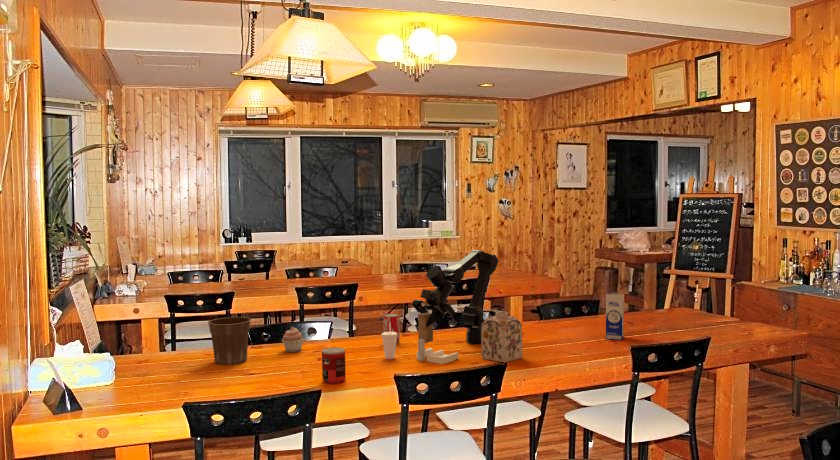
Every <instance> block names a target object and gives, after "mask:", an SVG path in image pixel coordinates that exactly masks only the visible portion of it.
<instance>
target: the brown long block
mask: <svg viewBox="0 0 840 460" xmlns="http://www.w3.org/2000/svg"><path fill="white" fill-rule="evenodd" d="M431 314H432V312H428V313H422V314H421V313H419V314H418V315H417V320H418V321H417V322H418V325H417V326H418V331H417V332H418V333H417V334H418V336H417V337H418V340H420V339H423V340H425V344H427V343H431V342H434V323H433V324H431V325H430V326H428V327H427V326H426V324H427V321H428V319H429V317H430V316H431Z"/></svg>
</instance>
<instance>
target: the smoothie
mask: <svg viewBox="0 0 840 460" xmlns="http://www.w3.org/2000/svg"><path fill="white" fill-rule="evenodd" d="M380 336H381V337H382V344H383V354H384V358H385V359H386V360H393V359H395V357H396V349H397V348H396V347H397V343H396V339H397V336H398V335H397V333H396V332H391V323H390V322H389V332H384V333H383V332H382V333H381V334H380Z"/></svg>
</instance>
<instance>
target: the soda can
mask: <svg viewBox="0 0 840 460" xmlns="http://www.w3.org/2000/svg"><path fill="white" fill-rule="evenodd" d="M382 320H383V321H382V331H383V332H382V333H384V332H389V322H390V323H391V332H396V333H397V335H398V336H397V339H396V344H397V343H399V342H400V340H401V339H400V335H401V331H400V318H399V315H398V314H397V313H387V314H384V316H383V319H382Z"/></svg>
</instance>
